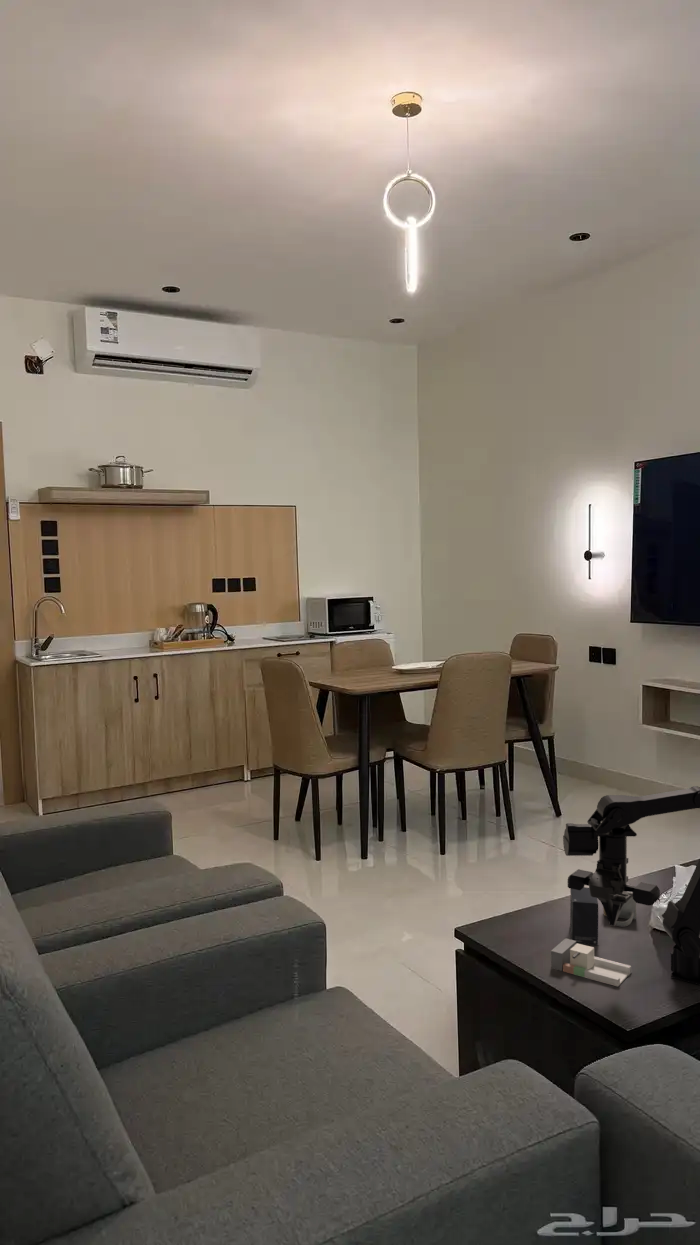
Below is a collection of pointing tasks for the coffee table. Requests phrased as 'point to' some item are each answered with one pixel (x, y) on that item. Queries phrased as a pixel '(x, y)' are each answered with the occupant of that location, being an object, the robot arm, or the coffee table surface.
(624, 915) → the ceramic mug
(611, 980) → the base
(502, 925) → the coffee table surface
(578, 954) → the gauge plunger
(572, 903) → the small box
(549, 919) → the coffee table surface
